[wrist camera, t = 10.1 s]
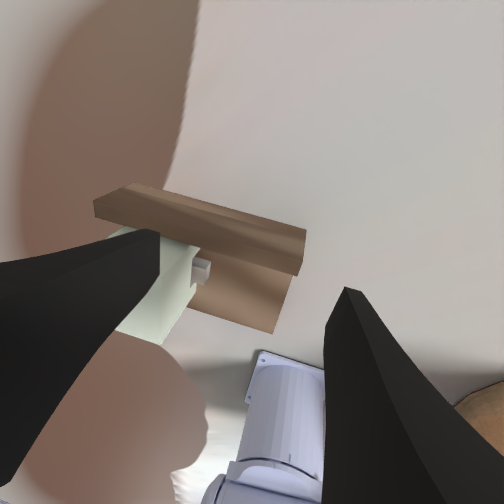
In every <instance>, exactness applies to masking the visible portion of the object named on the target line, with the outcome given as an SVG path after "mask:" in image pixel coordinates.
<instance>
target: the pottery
mask: <svg viewBox="0 0 504 504" xmlns="http://www.w3.org/2000/svg"><path fill="white" fill-rule="evenodd" d="M454 409H455V410H456V411H457V412H458V413H459V414H460V415H461V416H462V417H463V418H464V419H465V420H466V421H467V422H468V423H469V424H470V425H471V426H472V427H473V428H474V429H475V430H476V431H477V432H478V433H479V434H480V435H481V436H482V437H483V438H484V439H485V440H486V441H487V442H489V443H490V444H491V445H492V446H493V447H494V448H495V449H496V450H497V451H498V452H499V453H500V454H501V455H503V456H504V381H502V382H500V383H497V384H494V385H492V386H489V387H487V388H484V389H482V390H479V391H477V392H474V393H472V394H470V395H469V396H467V397H466V398H465V399H464V400H462V401H461V402H460V403H459V404H457V405H456V406H455V407H454Z"/></svg>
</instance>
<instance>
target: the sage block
mask: <svg viewBox="0 0 504 504" xmlns="http://www.w3.org/2000/svg"><path fill="white" fill-rule="evenodd" d="M136 230H137V229H134V228H131V227H127V226H124V227H122V228H121V229H119V230H118V231H116V232H114V233H113V234H111V235H110V236H108V237H107V238H105V239H108V238H111V237H115V236H118V235H121V234H125V233H128V232H132V231H136ZM199 250H200V248H199V247H195V246H192V245H188V244H185V243H182V242H178V241H175V240H171V239H168V238H165V237H161V236H160V275H159V276H158V278H157V280H156V281H155V283H154V284H153V286H152V287H151V289H150V290H149V291H148V293H147V294H146V295H145V297H144V298H143V299H142V300H141V301H140V302H139V303H138V304H137V306H136V307H135V308H134V309H133V310H132V311H131V312H130V313H129V314H128V316H127V317H126V318H125V319H124V320H123V321H122V322H121V323H120V324H119V325H118V327H117V328H116V329H115V330H117V331H120V332H123V333H126V334H129V335H132V336H135V337H137V338H141V339H143V340H147V341H149V342H153V343H155V344H158V345H161V344H162V343H163V341H164V340H165V338H166V336H167V335H168V333H169V332H170V330H171V329H172V327H173V326H174V324H175V323H176V321H177V320H178V318H179V317H180V315H181V314H182V312H183V311H184V309H185V307H186V306H187V304H188V303H189V301H190V300H191V298H192V297H193V295H194V294H195V292H196V285H197V283H194V282H190V280H191V269H192V258H193V257H194V256H195V255H196V254H197V252H198V251H199Z"/></svg>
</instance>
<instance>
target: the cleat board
mask: <svg viewBox="0 0 504 504" xmlns="http://www.w3.org/2000/svg"><path fill="white" fill-rule="evenodd" d="M93 203H94V211H95V217H97V218H100V219H103V220H107V221H110V222H114V223H117V224H121V225H124V226H127V227H131V228H134V229H137V230H140V229H145V228H147V229H150V230H153V231H157V232H160V236H161V237H165V238H168V239H171V240H175V241H178V242H182V243H185V244H188V245H192V246H195V247H199V248H200V250H199V251H198V252H197V254H196V255H195V256H194V257H193V258H192V269H191V280H190V282H194V283H197V285H196V292H195V294H194V295H193V297H192V298H191V300H190V301H189V303H188V304H187V306H186V307H188V308H191V309H194V310H197V311H200V312H204V313H207V314H210V315H213V316H216V317H219V318H222V319H226V320H229V321H232V322H235V323H238V324H241V325H244V326H248V327H251V328H254V329H257V330H260V331H263V332H266V333H270V334H273V332H274V329H275V326H276V323H277V320H278V317H279V314H280V311H281V308H282V306H283V303H284V300H285V297H286V294H287V291H288V288H289V285H290V282H291V279H292V277H293V275H294V276H298V273H299V270H300V267H301V265H302V262H303V255H304V247H305V239H306V231H307V230H305V229H302V228H298V227H294V226H291V225H287V224H284V223H280V222H276V221H273V220H269V219H266V218H262V217H258V216H255V215H251V214H248V213H244V212H240V211H237V210H233V209H229V208H226V207H222V206H219V205H215V204H211V203H208V202H204V201H201V200H197V199H193V198H190V197H186V196H182V195H179V194H175V193H172V192H168V191H164V190H161V189H157V188H154V187H150V186H146V185H142V184H139V183H136V182H134V183H131V184H129V185H127V186H125V187H122V188H120V189H118V190H116V191H113V192H111V193H109V194H107V195H105V196H102V197H100V198H98V199H95V200H93Z"/></svg>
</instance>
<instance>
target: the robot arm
mask: <svg viewBox="0 0 504 504" xmlns="http://www.w3.org/2000/svg"><path fill="white" fill-rule="evenodd" d="M159 275H160V232H157V231H153V230H150V229H147V228H145V229H140V230H136V231H132V232H128V233H125V234H121V235H118V236H115V237H111V238H108V239H104V240H101V241H97V242H94V243H91V244H87V245H83V246H79V247H75V248H71V249H68V250H63V251H60V252H55V253H51V254H46V255H42V256H37V257H31V258H26V259H21V260H15V261H9V262H1V263H0V487H2V486H4V485H5V484H7V483H8V482H10V481H11V479H12V478H13V476H14V474H15V473H16V471H17V469H18V468H19V466H20V464H21V463H22V461H23V459H24V458H25V456H26V454H27V453H28V451H29V450H30V448H31V446H32V445H33V443H34V441H35V440H36V438H37V437H38V435H39V434H40V432H41V430H42V429H43V427H44V426H45V424H46V423H47V421H48V420H49V418H50V417H51V415H52V414H53V412H54V411H55V409H56V407H57V406H58V405H59V403H60V401H61V400H62V398H63V397H64V396H65V394H66V393H67V391H68V390H69V388H70V387H71V386H72V384H73V383H74V381H75V380H76V378H77V377H78V375H79V374H80V373H81V371H82V370H83V369H84V367H85V366H86V364H87V363H88V362H89V361H90V359H91V358H92V356H93V355H94V354H95V352H96V351H97V350H98V348H99V347H100V346H101V345H102V344H103V342H104V341H105V340H106V338H108V336H109V335H110V334H111V333H112V332H113V331H114V330H115V329H116V328H117V327H118V325H119V324H120V323H121V322H122V321H123V320H124V319H125V318H126V317H127V316H128V314H129V313H130V312H131V311H132V310H133V309H134V308H135V307H136V306H137V304H138V303H139V302H140V301H141V300H142V299H143V298H144V297H145V295H146V294H147V293H148V291H149V290H150V289H151V287H152V286H153V284H154V283H155V281H156V280H157V278H158V276H159ZM323 357H324V370H321V369H318V368H315V367H312V366H309V365H306V364H303V363H299V362H296V361H293V360H290V359H287V358H284V357H281V356H278V355H275V354H272V353H269V352H266V351H261V352H260V354H259V357H258V360H257V363H256V366H255V369H254V372H253V375H252V378H251V381H250V384H249V387H248V391H247V394H246V397H245V400H244V401H245V403H246V404H249V409H248V413H247V417H246V421H245V425H244V430H243V434H242V438H241V442H240V446H239V450H238V455H237V459H236V462H234V461H230V463H229V466H228V470H227V474H226V475H225V474H219V475H218V476H217V477H216V478H215V480H214V481H213V482H211V484H210V485H209V486H208V488H207V490H206V492H205V494H204V496H203V499H202V501H201V504H504V456H503V455H501V454H500V453H499V452H498V451H497V450H496V449H495V448H494V447H493V446H492V445H491V444H490V443H489V442H487V441H486V440H485V439H484V438H483V437H482V436H481V435H480V434H479V433H478V432H477V431H476V430H475V429H474V428H473V427H472V426H471V425H470V424H469V423H468V422H467V421H466V420H465V419H464V418H463V417H462V416H461V415H460V414H459V413H458V412H457V411H456V410H455V409H454V408H453V407H452V406H451V405H450V404H449V403H448V402H447V401H446V399H445V398H444V397H443V396H442V395H441V394H440V393H439V392H438V391H437V390H436V388H435V387H434V386H433V385H432V384H431V383H430V382H429V381H428V380H427V378H426V377H425V376H424V375H423V374H422V373H421V371H420V370H419V369H418V368H417V367H416V365H415V364H414V363H413V362H412V360H411V359H410V358H409V357H408V355H407V354H406V353H405V352H404V350H403V349H402V348H401V346H400V345H399V344H398V342H397V341H396V340H395V338H394V337H393V336H392V334H391V333H390V331H389V330H388V329H387V327H386V326H385V324H384V323H383V322H382V320H381V319H380V317H379V316H378V314H377V313H376V311H375V310H374V308H373V307H372V306H371V304H370V303H369V301H368V300H367V298H366V297H365V295H364V294H363V293H362V292H361V291H358V290H355V289H351V288H348V287H344V289H343V291H342V293H341V295H340V297H339V299H338V301H337V303H336V305H335V307H334V309H333V311H332V313H331V315H330V317H329V320H328V322H327V324H326V326H325V336H324V348H323ZM324 401H325V403H326V435H325V454H324V470H323V402H324ZM0 504H9V503H7V502H5V501H3V500H0Z"/></svg>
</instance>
